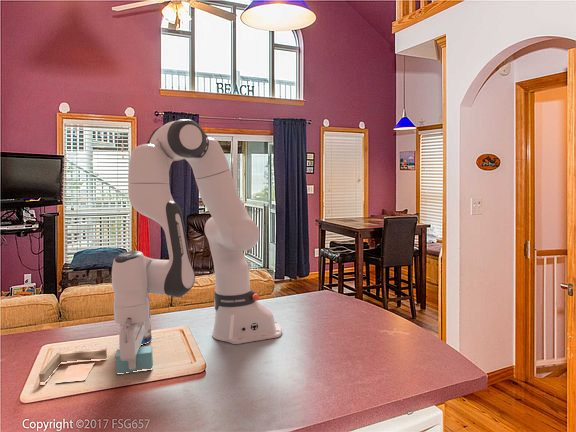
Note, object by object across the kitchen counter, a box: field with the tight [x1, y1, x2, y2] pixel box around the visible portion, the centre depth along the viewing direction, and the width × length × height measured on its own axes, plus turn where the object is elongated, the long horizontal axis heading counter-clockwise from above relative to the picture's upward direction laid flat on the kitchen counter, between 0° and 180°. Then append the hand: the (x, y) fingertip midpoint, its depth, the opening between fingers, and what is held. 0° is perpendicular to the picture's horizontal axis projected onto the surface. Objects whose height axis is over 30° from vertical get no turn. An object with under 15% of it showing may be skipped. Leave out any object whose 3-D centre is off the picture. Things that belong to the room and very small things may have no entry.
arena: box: [38, 348, 108, 383], centre depth 118 cm, size 13×14×3 cm
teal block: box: [114, 345, 154, 373], centre depth 119 cm, size 9×5×5 cm, turn 105°
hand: (134, 363), depth 119 cm, fingers closed on teal block, 5 cm apart
